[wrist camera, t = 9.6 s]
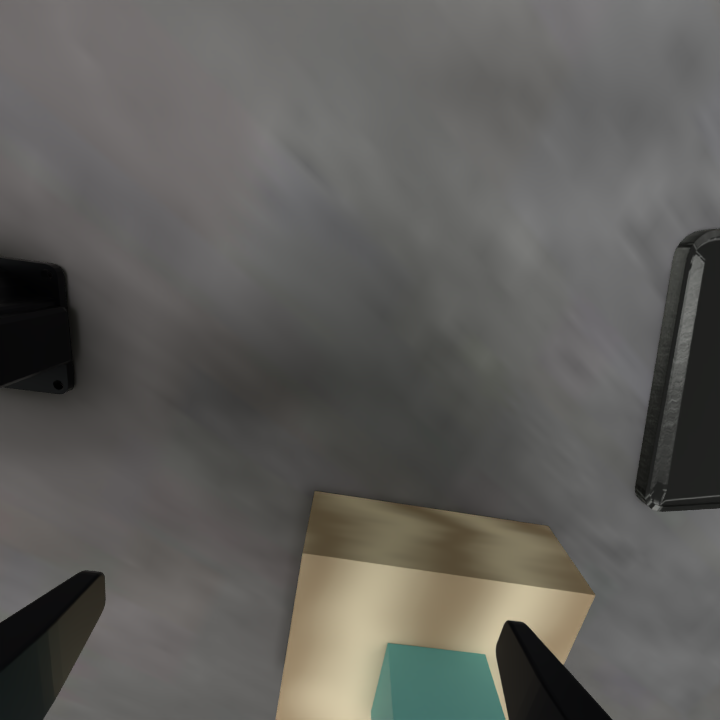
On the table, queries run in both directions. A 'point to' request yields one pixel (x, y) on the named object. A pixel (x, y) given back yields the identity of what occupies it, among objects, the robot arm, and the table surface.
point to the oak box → (415, 596)
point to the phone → (686, 386)
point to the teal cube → (435, 686)
